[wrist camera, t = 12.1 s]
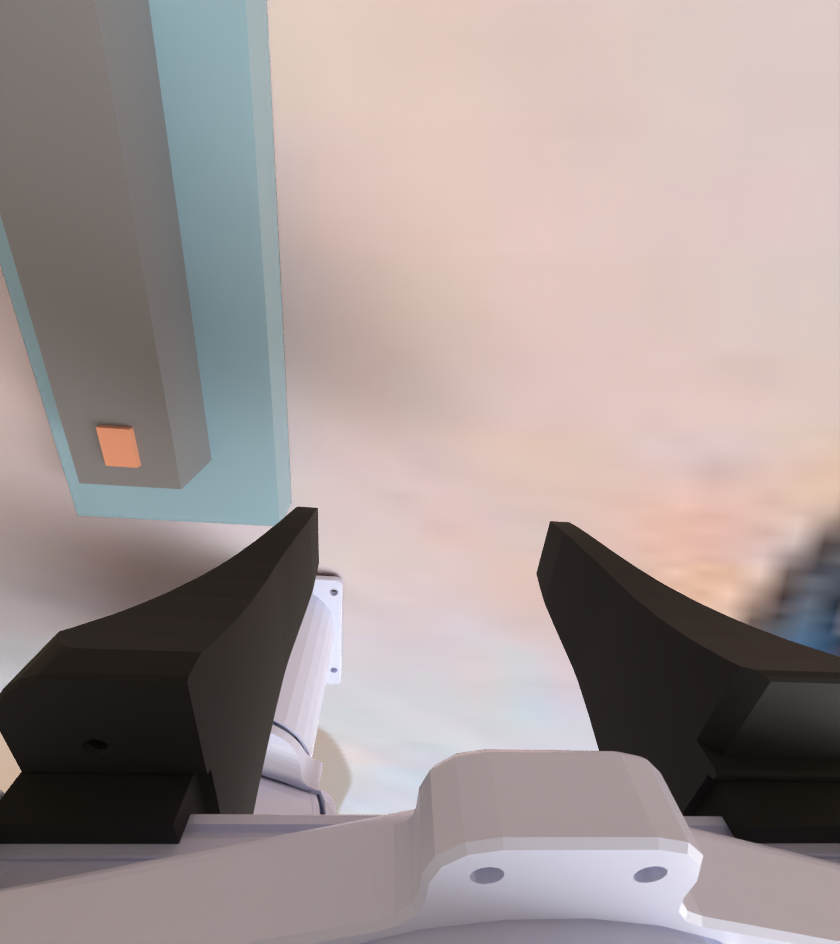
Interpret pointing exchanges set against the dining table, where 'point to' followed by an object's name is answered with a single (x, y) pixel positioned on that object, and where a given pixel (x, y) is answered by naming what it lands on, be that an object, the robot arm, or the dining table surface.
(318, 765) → the robot arm
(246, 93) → the light blue board
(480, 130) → the dining table surface
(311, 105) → the dining table surface
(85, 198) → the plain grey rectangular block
